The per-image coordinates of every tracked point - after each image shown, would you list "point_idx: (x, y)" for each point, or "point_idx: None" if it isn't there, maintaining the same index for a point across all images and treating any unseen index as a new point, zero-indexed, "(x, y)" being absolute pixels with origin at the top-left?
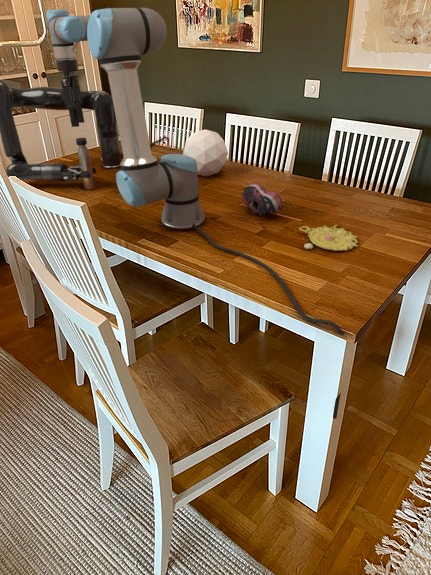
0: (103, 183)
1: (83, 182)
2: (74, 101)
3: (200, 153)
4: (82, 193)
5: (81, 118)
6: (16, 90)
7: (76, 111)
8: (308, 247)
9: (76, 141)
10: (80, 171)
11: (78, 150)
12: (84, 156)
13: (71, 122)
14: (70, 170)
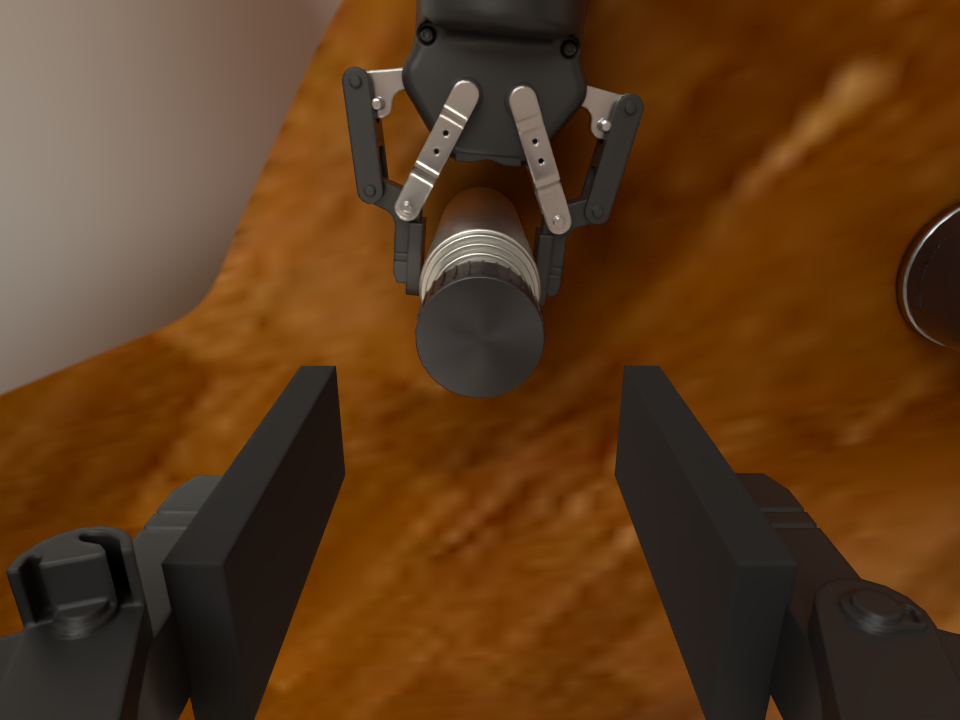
0: (564, 299)
1: (454, 201)
2: (826, 681)
3: None
4: (367, 204)
5: (634, 487)
6: None
7: (264, 665)
8: None
9: (441, 282)
10: (529, 174)
11: (454, 257)
12: None
13: (281, 403)
14: (437, 118)
